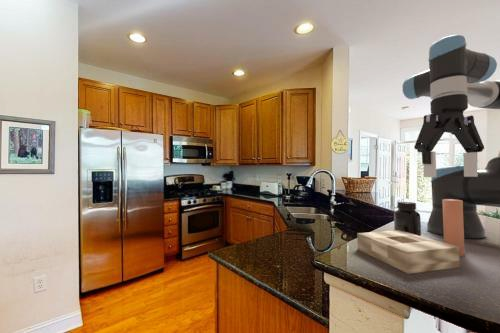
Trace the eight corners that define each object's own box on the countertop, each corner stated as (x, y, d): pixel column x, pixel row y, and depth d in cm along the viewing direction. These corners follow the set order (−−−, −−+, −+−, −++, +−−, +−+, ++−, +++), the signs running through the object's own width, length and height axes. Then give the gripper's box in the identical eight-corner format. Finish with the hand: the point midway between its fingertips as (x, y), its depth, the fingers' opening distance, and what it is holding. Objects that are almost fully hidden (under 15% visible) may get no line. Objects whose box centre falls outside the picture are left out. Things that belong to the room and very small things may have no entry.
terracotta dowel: (452, 250, 63) (450, 199, 63) (468, 255, 59) (466, 200, 59) (440, 251, 62) (438, 199, 62) (456, 257, 58) (454, 201, 58)
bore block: (399, 245, 67) (399, 230, 67) (459, 267, 52) (459, 247, 52) (357, 249, 64) (357, 233, 64) (408, 273, 49) (407, 252, 49)
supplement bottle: (426, 245, 67) (424, 204, 68) (400, 244, 69) (399, 203, 69) (414, 238, 74) (413, 201, 75) (391, 237, 76) (390, 201, 76)
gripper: (468, 104, 68) (470, 176, 67) (397, 99, 62) (399, 177, 62) (500, 95, 60) (504, 176, 60) (423, 89, 55) (426, 177, 54)
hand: (450, 177), depth 61 cm, fingers open, 13 cm apart
